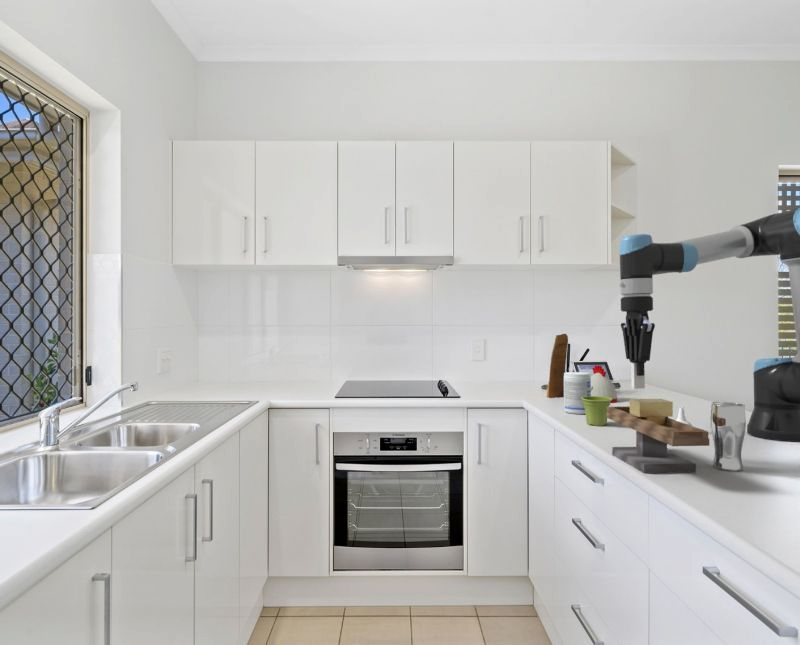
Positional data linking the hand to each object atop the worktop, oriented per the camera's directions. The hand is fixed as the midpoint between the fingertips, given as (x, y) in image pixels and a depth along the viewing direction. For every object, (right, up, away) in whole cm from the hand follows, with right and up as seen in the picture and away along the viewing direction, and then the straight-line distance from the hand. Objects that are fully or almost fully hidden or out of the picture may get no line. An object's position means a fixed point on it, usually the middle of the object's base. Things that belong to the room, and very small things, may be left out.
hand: (638, 388), depth 134 cm
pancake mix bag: (+10, -17, +102) cm, 104 cm away
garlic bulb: (+25, -17, +27) cm, 41 cm away
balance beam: (0, -17, -7) cm, 19 cm away
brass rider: (0, -8, -7) cm, 10 cm away
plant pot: (+4, -17, +39) cm, 43 cm away
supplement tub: (+5, -17, +61) cm, 64 cm away
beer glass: (+16, -17, -12) cm, 26 cm away
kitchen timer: (+24, -17, +89) cm, 94 cm away
